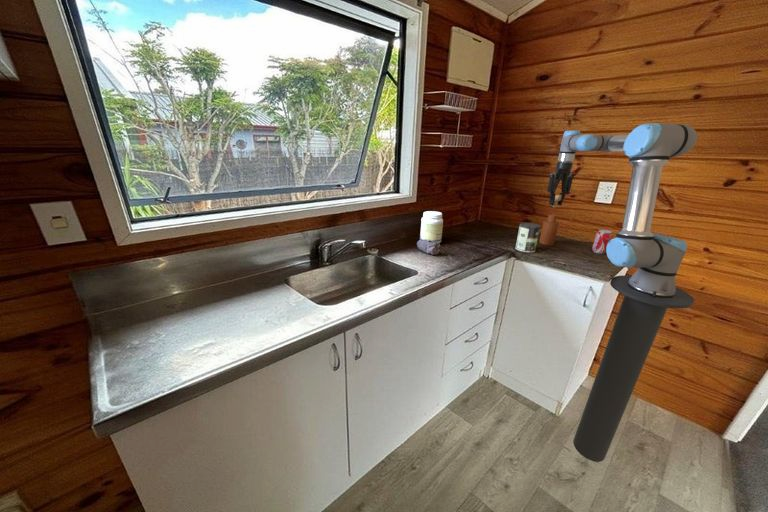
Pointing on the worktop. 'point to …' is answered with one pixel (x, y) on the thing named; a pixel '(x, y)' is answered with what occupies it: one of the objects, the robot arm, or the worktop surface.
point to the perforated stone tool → (428, 246)
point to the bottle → (549, 230)
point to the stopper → (557, 198)
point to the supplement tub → (431, 226)
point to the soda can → (601, 241)
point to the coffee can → (527, 237)
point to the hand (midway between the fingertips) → (555, 204)
